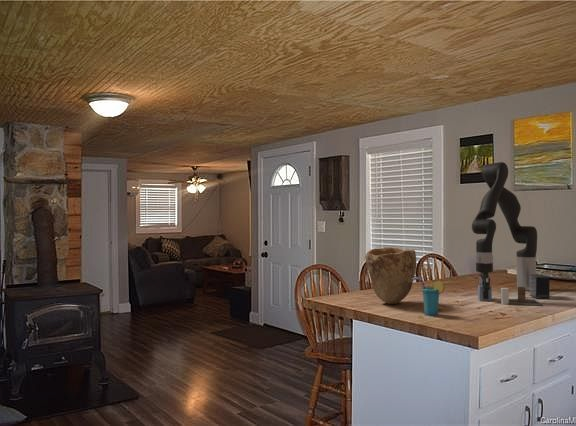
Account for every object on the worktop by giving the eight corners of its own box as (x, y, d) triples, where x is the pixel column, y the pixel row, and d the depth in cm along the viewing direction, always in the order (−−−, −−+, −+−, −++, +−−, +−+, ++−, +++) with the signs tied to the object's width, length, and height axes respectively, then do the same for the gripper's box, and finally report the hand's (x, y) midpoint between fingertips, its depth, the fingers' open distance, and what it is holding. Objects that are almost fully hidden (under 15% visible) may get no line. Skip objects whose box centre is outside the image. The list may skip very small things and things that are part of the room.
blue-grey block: (477, 298, 240) (477, 284, 240) (489, 299, 239) (489, 285, 239) (479, 300, 235) (479, 286, 235) (491, 300, 234) (491, 286, 234)
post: (501, 303, 228) (501, 287, 228) (507, 303, 228) (507, 287, 228) (502, 304, 226) (502, 288, 226) (508, 304, 225) (508, 288, 225)
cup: (408, 314, 207) (408, 277, 207) (416, 311, 213) (416, 275, 213) (442, 318, 199) (441, 280, 199) (449, 314, 205) (448, 277, 205)
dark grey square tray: (501, 299, 237) (501, 284, 237) (533, 300, 234) (533, 285, 234) (508, 305, 223) (508, 289, 223) (543, 306, 221) (542, 290, 221)
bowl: (357, 301, 236) (356, 248, 236) (396, 297, 245) (396, 246, 245) (384, 310, 216) (383, 251, 216) (427, 305, 225) (426, 249, 224)
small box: (550, 299, 236) (550, 277, 236) (535, 299, 238) (535, 276, 238) (543, 295, 247) (543, 274, 247) (529, 295, 248) (529, 274, 248)
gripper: (473, 260, 244) (473, 295, 245) (478, 263, 230) (478, 300, 230) (489, 260, 243) (490, 295, 243) (496, 263, 229) (496, 300, 229)
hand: (484, 297), depth 237 cm, fingers closed on blue-grey block, 5 cm apart
